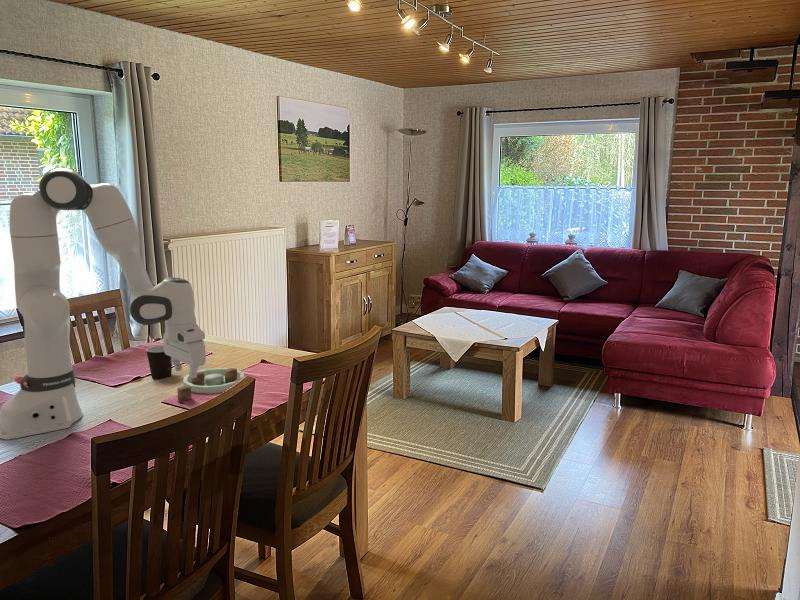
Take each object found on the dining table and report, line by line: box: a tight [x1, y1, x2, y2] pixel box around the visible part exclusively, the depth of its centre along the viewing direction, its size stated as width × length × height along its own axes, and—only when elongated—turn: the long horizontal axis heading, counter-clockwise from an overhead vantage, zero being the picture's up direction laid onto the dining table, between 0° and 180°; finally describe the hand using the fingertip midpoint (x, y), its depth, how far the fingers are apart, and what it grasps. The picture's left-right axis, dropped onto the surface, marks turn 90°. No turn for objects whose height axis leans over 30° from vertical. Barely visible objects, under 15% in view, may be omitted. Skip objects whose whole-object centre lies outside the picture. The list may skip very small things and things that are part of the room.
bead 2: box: [192, 372, 205, 386], centre depth 204 cm, size 4×4×4 cm
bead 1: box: [176, 386, 192, 405], centre depth 194 cm, size 4×4×4 cm
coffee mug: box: [145, 344, 173, 380], centre depth 218 cm, size 12×9×10 cm
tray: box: [182, 367, 245, 394], centre depth 208 cm, size 20×20×3 cm
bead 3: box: [225, 367, 238, 384], centre depth 208 cm, size 4×4×4 cm
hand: (185, 374), depth 193 cm, fingers open, 8 cm apart
